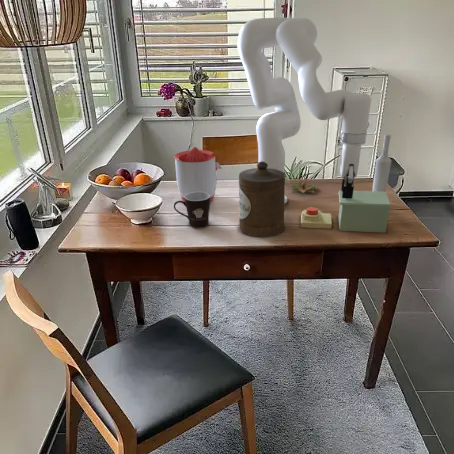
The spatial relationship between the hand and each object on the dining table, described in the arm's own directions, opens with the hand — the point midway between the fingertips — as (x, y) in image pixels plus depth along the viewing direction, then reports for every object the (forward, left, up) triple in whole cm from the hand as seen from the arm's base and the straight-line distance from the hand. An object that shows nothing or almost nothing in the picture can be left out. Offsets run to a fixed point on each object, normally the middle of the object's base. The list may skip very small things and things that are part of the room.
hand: (346, 194), depth 154 cm
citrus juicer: (-53, +18, -11) cm, 57 cm away
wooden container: (-27, -6, -11) cm, 30 cm away
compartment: (+6, 0, -10) cm, 12 cm away
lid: (+5, 0, -2) cm, 6 cm away
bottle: (+13, +19, -11) cm, 25 cm away
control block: (-9, 0, -10) cm, 14 cm away
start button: (-11, 0, -7) cm, 13 cm away
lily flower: (-14, +33, -11) cm, 37 cm away
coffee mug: (-50, -5, -11) cm, 52 cm away
